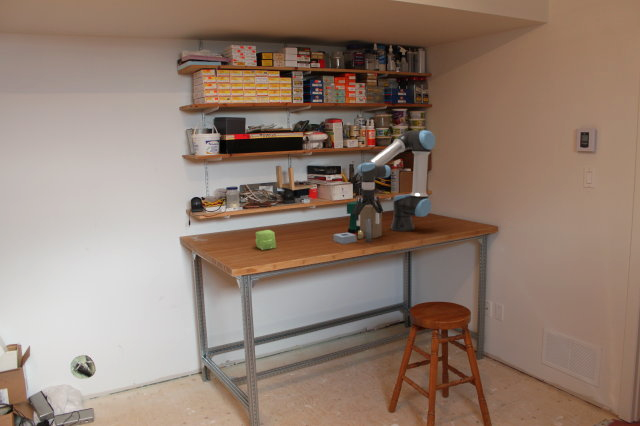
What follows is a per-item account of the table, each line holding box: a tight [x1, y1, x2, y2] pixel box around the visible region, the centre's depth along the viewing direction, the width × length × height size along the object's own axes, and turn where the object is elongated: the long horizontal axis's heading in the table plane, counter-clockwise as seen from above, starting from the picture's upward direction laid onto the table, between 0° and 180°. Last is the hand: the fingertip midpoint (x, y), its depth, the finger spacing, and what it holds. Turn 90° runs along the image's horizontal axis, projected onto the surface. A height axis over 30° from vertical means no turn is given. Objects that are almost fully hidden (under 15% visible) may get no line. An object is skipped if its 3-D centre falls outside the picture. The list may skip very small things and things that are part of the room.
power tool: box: [346, 200, 376, 236], centre depth 341 cm, size 32×7×20 cm, turn 146°
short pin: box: [357, 230, 364, 240], centre depth 318 cm, size 3×3×5 cm
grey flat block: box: [332, 232, 357, 245], centre depth 312 cm, size 10×10×4 cm
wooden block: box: [360, 203, 383, 239], centre depth 323 cm, size 10×10×20 cm
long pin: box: [365, 218, 372, 243], centre depth 308 cm, size 3×3×14 cm
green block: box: [255, 229, 277, 251], centre depth 300 cm, size 18×10×10 cm, turn 24°
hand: (367, 224), depth 307 cm, fingers open, 13 cm apart
